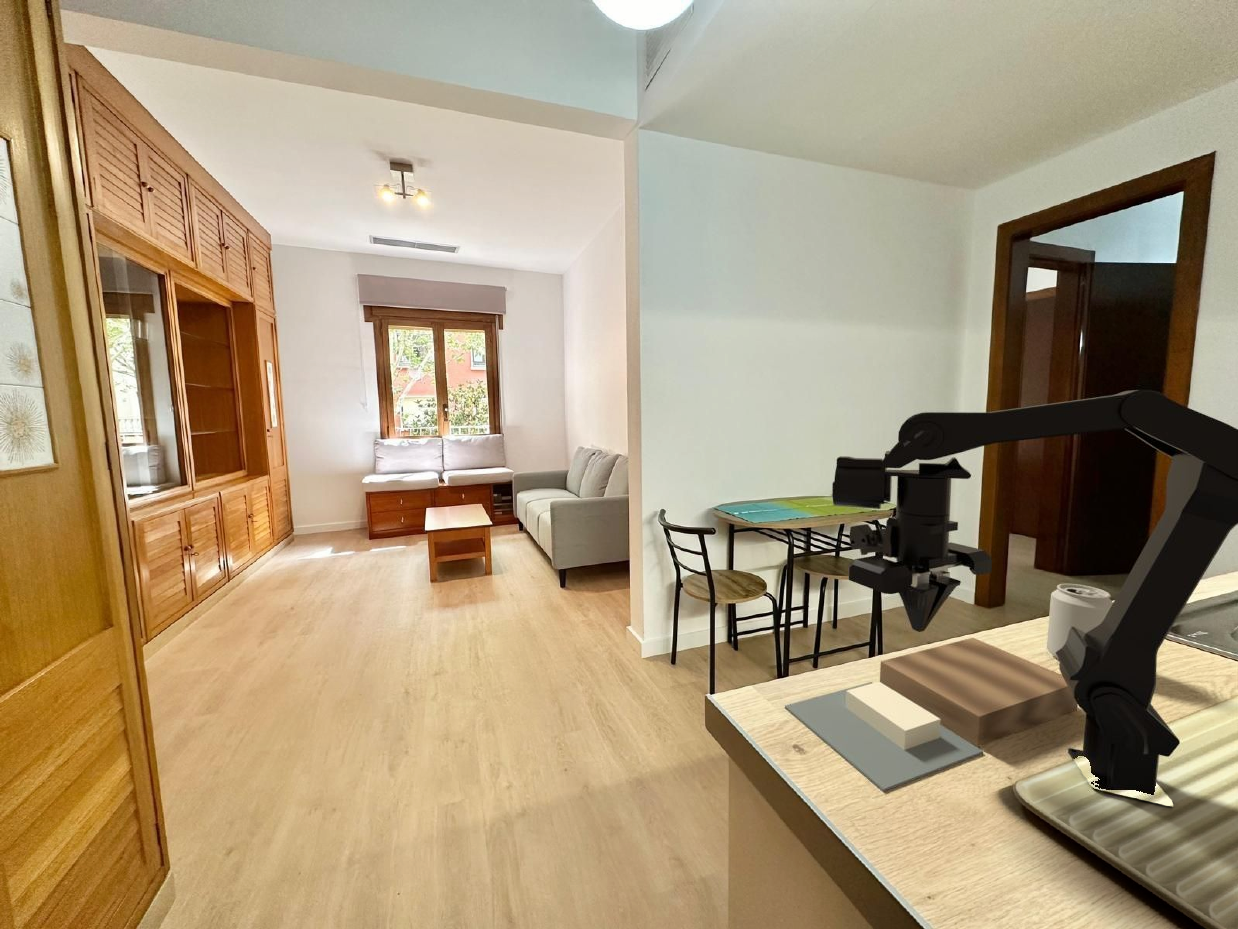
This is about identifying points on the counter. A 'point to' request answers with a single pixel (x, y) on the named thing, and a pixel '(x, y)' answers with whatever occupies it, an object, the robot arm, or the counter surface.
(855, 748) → the mat
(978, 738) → the block
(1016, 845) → the counter surface
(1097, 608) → the can
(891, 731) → the tile
